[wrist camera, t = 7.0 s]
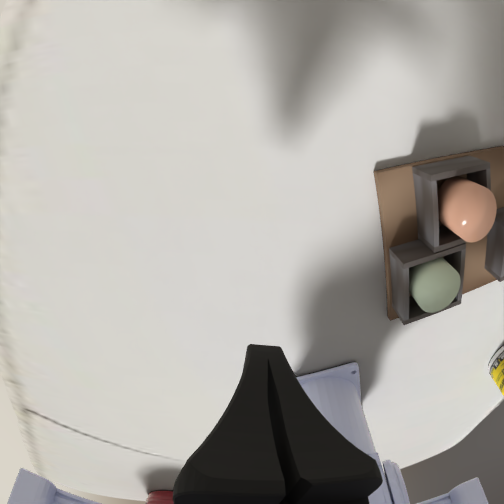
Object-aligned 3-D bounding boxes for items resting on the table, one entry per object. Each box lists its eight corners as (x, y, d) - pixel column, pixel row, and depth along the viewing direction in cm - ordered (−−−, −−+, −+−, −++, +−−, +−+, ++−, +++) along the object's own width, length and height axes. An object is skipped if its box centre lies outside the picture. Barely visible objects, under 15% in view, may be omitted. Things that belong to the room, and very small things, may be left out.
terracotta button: (473, 220, 18) (495, 234, 16) (435, 232, 18) (455, 248, 16) (472, 172, 17) (496, 182, 14) (433, 181, 17) (455, 192, 15)
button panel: (515, 266, 22) (533, 281, 19) (387, 316, 24) (401, 339, 21) (521, 143, 17) (545, 150, 14) (373, 171, 19) (393, 182, 16)
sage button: (442, 285, 21) (458, 303, 19) (403, 298, 22) (417, 319, 19) (443, 245, 20) (462, 261, 17) (402, 258, 20) (418, 276, 18)
